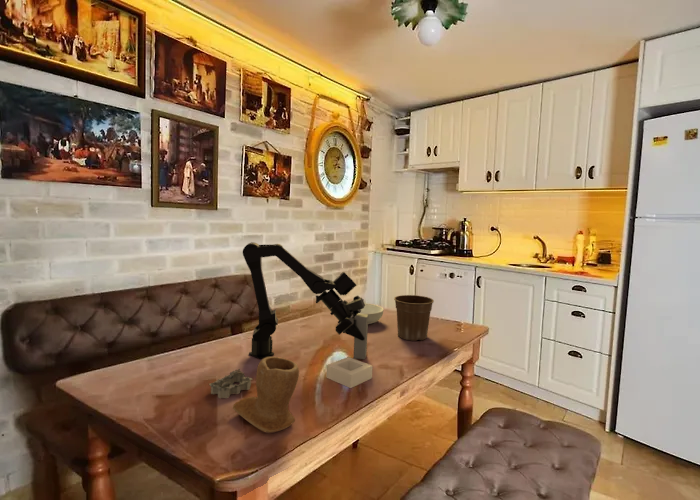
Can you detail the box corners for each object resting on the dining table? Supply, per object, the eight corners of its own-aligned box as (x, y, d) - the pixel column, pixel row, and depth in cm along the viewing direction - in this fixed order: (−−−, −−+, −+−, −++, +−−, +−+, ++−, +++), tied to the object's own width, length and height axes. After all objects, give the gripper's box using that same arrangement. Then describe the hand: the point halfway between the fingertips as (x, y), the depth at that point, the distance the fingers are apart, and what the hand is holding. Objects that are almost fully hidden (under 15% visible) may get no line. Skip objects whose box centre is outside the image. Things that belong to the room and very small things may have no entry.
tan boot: (307, 423, 94) (309, 363, 93) (264, 442, 86) (266, 376, 84) (272, 400, 105) (273, 345, 103) (231, 414, 96) (231, 356, 95)
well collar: (350, 388, 113) (351, 375, 113) (326, 377, 120) (326, 365, 120) (371, 378, 121) (372, 365, 121) (347, 368, 128) (348, 356, 127)
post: (353, 358, 137) (355, 316, 135) (355, 354, 141) (357, 313, 139) (364, 359, 136) (366, 317, 135) (366, 355, 140) (368, 314, 138)
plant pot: (388, 339, 159) (390, 300, 157) (396, 328, 174) (398, 293, 172) (429, 345, 154) (431, 305, 152) (433, 333, 169) (435, 297, 168)
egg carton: (240, 380, 116) (240, 367, 116) (255, 389, 111) (255, 375, 111) (206, 392, 108) (206, 377, 108) (221, 401, 103) (221, 386, 103)
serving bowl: (362, 314, 197) (363, 300, 196) (392, 324, 181) (392, 309, 180) (329, 320, 184) (329, 305, 183) (358, 331, 168) (358, 316, 167)
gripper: (346, 295, 128) (378, 331, 127) (356, 285, 146) (384, 316, 145) (322, 316, 130) (353, 352, 129) (335, 304, 148) (362, 335, 147)
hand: (364, 337), depth 137 cm, fingers closed on post, 4 cm apart
